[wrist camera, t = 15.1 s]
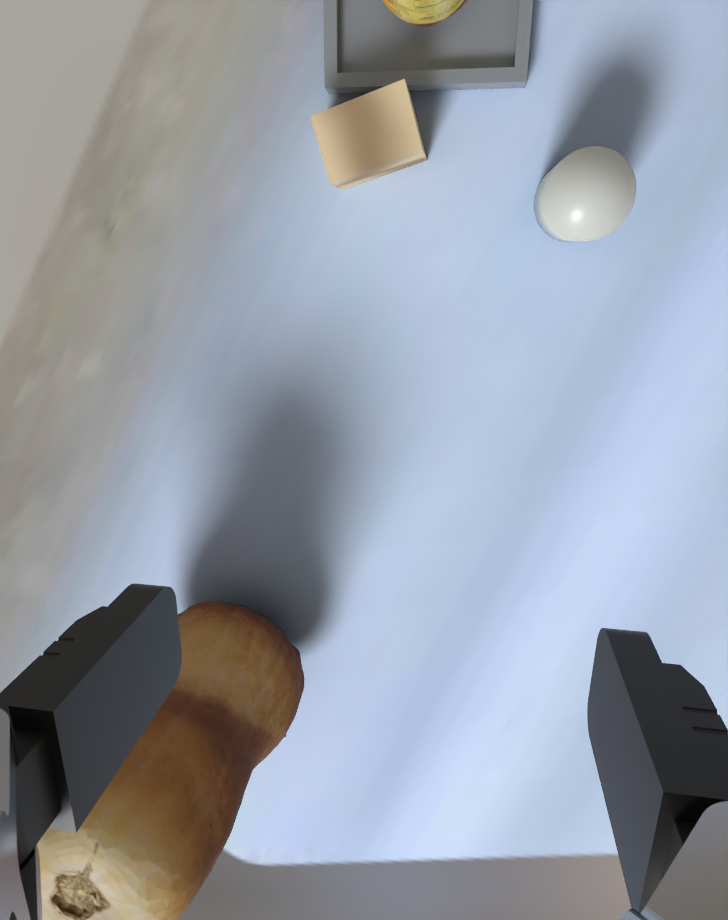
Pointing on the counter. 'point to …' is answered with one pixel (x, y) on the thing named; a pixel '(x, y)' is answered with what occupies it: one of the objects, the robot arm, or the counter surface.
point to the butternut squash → (179, 775)
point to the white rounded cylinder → (585, 195)
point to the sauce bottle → (424, 10)
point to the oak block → (369, 136)
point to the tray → (426, 47)
